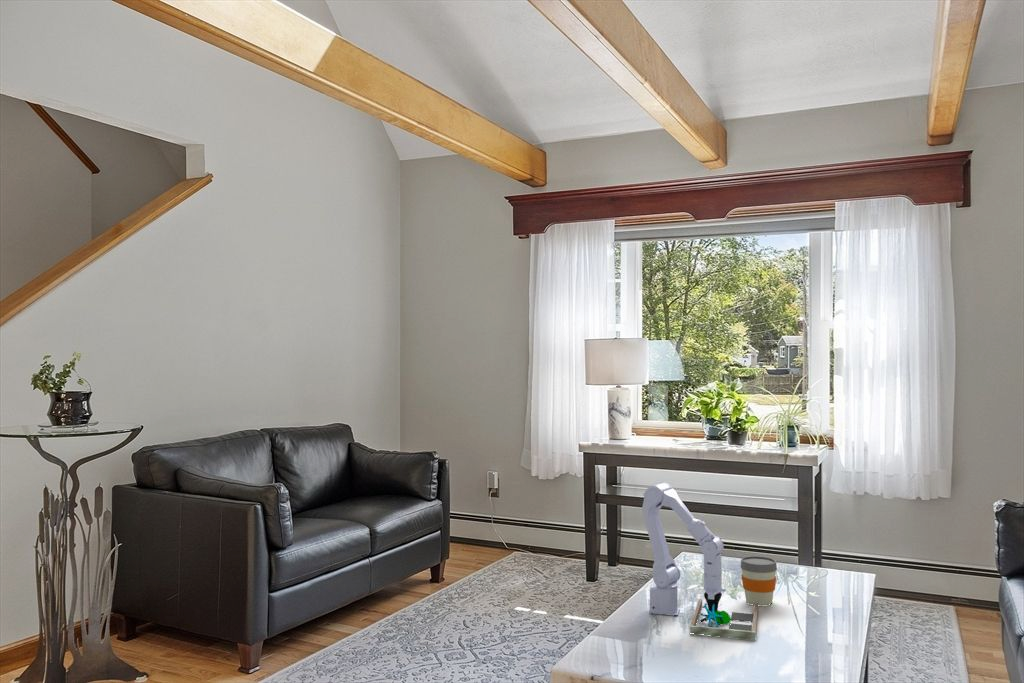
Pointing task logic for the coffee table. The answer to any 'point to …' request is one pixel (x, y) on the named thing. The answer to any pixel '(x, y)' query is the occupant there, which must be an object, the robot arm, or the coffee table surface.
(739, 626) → the mats
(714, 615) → the stick construction toy
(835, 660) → the coffee table surface
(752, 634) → the channel box
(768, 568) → the reusable coffee cup
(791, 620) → the coffee table surface
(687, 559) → the coffee table surface
